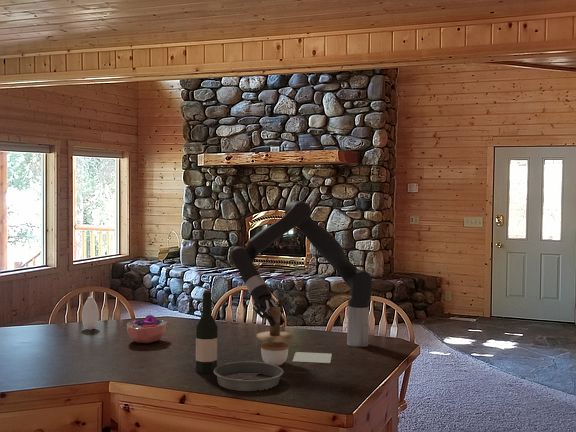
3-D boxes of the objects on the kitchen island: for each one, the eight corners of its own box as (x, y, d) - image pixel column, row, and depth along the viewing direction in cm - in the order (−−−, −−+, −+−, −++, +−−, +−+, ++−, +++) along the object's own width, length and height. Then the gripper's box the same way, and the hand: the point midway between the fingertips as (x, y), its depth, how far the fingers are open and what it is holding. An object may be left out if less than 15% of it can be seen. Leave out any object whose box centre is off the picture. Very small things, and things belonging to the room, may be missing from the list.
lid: (294, 334, 265) (295, 304, 265) (290, 343, 251) (291, 311, 251) (259, 333, 267) (260, 303, 266) (253, 341, 253) (254, 309, 252)
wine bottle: (213, 374, 244) (214, 292, 243) (191, 372, 246) (192, 291, 244) (220, 368, 252) (221, 289, 251) (199, 366, 254) (200, 288, 253)
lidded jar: (290, 362, 263) (291, 338, 263) (284, 368, 253) (284, 344, 252) (264, 360, 266) (265, 336, 265) (257, 366, 255) (257, 342, 255)
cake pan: (257, 397, 218) (257, 384, 218) (198, 384, 231) (199, 372, 231) (296, 380, 239) (296, 368, 239) (240, 369, 252) (240, 357, 252)
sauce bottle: (96, 331, 312) (96, 292, 311) (79, 330, 312) (79, 292, 311) (100, 327, 320) (101, 290, 319) (84, 327, 320) (84, 290, 319)
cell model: (116, 344, 286) (116, 318, 286) (143, 335, 305) (143, 311, 304) (149, 349, 280) (150, 322, 280) (175, 339, 298) (175, 314, 298)
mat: (331, 354, 276) (331, 353, 276) (330, 363, 261) (330, 362, 261) (295, 352, 278) (295, 352, 278) (292, 362, 263) (292, 361, 263)
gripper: (249, 285, 258) (269, 321, 250) (276, 282, 268) (296, 316, 260) (240, 297, 263) (260, 332, 254) (267, 293, 272) (287, 327, 264)
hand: (278, 324), depth 257 cm, fingers closed on lid, 4 cm apart
